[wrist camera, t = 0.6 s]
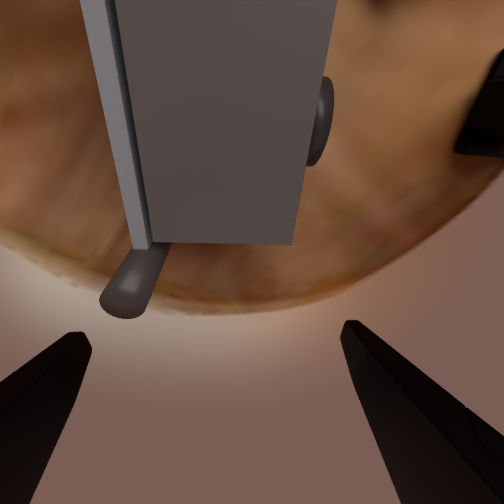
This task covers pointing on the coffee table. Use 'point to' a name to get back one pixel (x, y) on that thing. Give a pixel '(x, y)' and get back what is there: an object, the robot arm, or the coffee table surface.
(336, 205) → the coffee table surface
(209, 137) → the block
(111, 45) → the side door
